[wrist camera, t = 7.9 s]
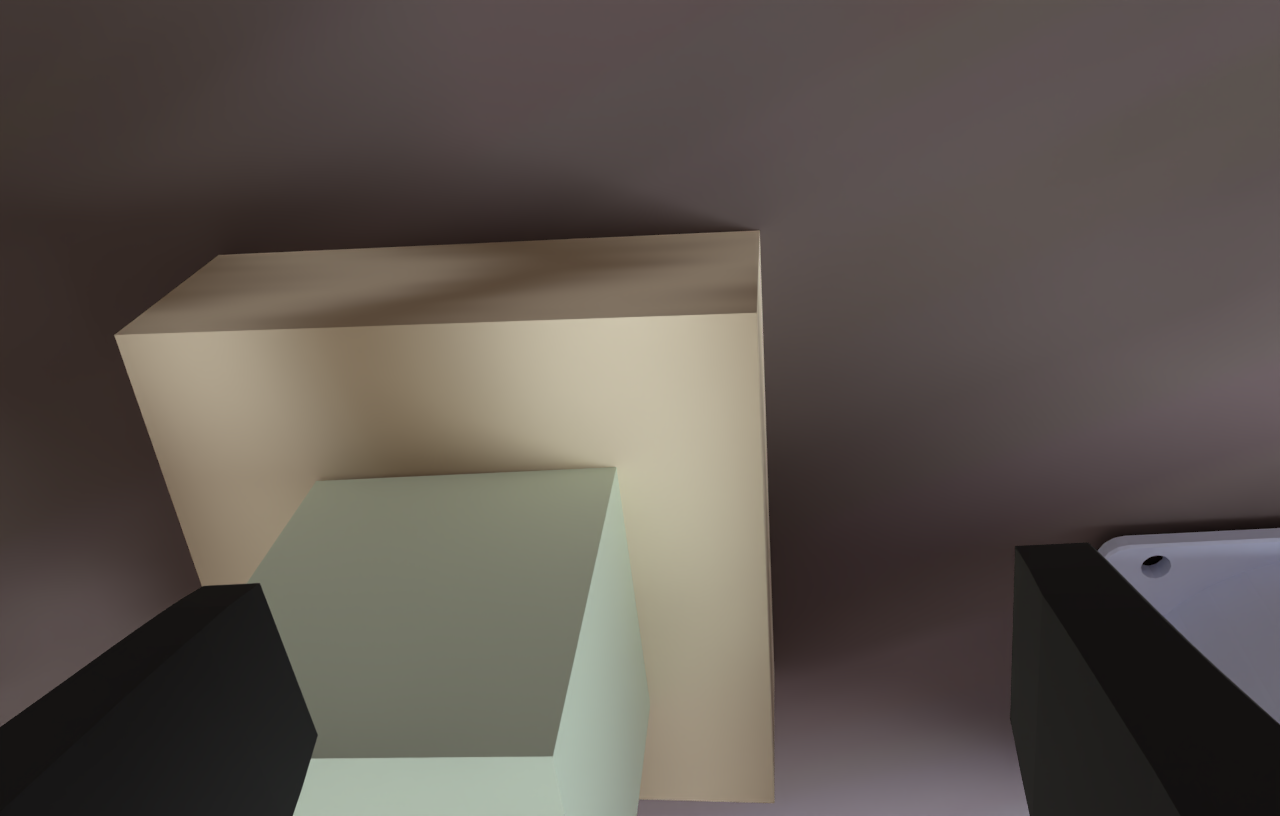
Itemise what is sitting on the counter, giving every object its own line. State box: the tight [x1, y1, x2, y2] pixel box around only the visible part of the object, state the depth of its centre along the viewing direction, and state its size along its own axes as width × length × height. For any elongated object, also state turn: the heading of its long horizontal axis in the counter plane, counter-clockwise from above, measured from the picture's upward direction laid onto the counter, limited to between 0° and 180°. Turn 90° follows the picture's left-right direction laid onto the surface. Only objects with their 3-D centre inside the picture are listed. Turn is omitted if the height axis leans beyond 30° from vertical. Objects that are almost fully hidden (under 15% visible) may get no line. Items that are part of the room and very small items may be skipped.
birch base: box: [114, 230, 774, 803], centre depth 20 cm, size 10×10×4 cm
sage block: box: [247, 467, 650, 816], centre depth 16 cm, size 5×5×6 cm
